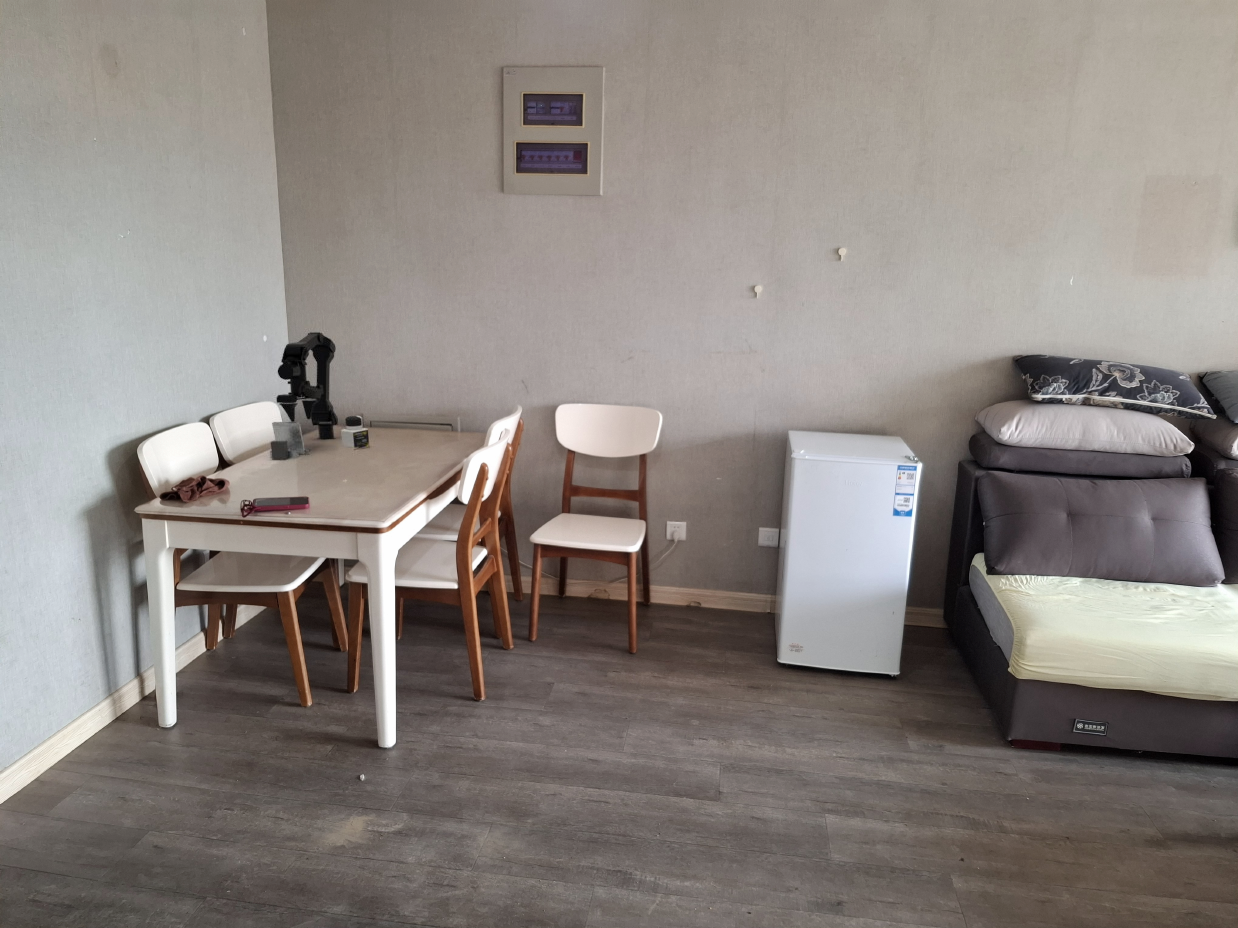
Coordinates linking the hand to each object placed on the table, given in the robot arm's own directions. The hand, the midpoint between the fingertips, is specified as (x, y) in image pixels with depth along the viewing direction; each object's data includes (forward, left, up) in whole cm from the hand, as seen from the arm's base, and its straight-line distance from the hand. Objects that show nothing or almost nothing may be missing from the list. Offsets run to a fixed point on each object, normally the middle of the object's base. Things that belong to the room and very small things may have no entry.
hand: (300, 420), depth 307 cm
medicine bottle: (+1, +19, -12) cm, 22 cm away
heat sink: (+9, -7, -11) cm, 16 cm away
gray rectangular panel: (+7, -5, -5) cm, 10 cm away
